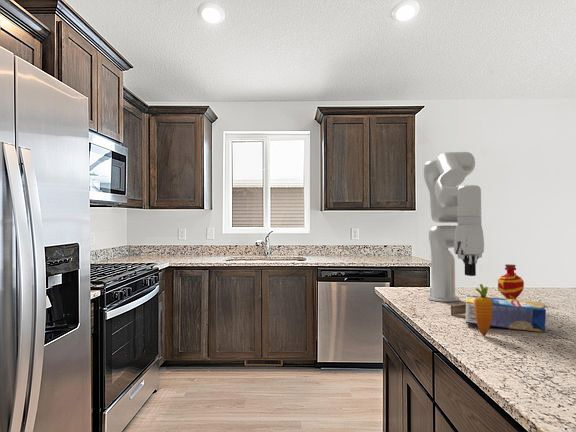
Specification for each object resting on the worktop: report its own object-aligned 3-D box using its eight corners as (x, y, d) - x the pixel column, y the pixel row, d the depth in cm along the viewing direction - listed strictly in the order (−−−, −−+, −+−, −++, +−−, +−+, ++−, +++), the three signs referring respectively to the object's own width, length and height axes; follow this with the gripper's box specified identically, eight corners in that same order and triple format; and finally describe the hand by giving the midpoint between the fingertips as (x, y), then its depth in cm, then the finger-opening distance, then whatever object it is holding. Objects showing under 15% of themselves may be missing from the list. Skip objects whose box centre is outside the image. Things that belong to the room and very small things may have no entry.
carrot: (491, 339, 125) (491, 286, 125) (473, 336, 127) (472, 285, 128) (494, 335, 129) (493, 284, 129) (476, 332, 132) (475, 282, 132)
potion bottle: (528, 303, 177) (527, 266, 178) (501, 302, 180) (500, 265, 180) (520, 298, 188) (519, 263, 188) (494, 298, 190) (493, 263, 190)
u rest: (450, 315, 156) (450, 305, 156) (481, 310, 164) (481, 301, 164) (492, 324, 141) (492, 314, 141) (524, 319, 149) (523, 309, 149)
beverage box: (465, 314, 149) (539, 323, 141) (465, 323, 139) (544, 332, 131) (466, 295, 149) (540, 302, 141) (466, 301, 139) (545, 310, 131)
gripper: (475, 221, 156) (475, 273, 156) (445, 221, 149) (445, 275, 149) (493, 221, 149) (494, 275, 149) (463, 221, 142) (464, 278, 142)
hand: (470, 275), depth 149 cm, fingers closed
